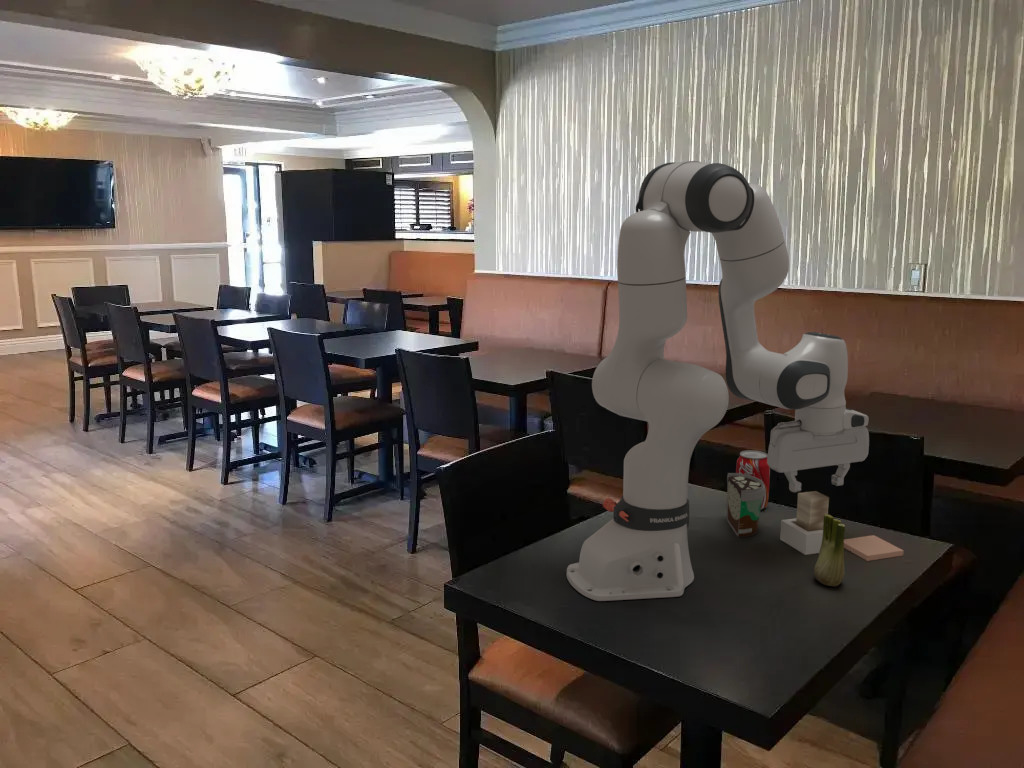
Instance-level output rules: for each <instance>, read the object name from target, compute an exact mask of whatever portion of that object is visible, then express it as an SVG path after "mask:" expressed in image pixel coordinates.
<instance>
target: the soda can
mask: <svg viewBox="0 0 1024 768" xmlns="http://www.w3.org/2000/svg"><path fill="white" fill-rule="evenodd" d="M767 458H768V453H766V452H764V451H762V450H761V451H759V450H751V449H750V450H749V449H748V450H742V451H740V452H739V457H738V458H737V460H736V466H735V467H736V468H735V473H738V474H745V475H750V476H753V477H756V478H758V479H760V480H761V481H762V482H763V484H764V486H765V492H766V495H765V496H764V497H763V498H762V501H761V508H760V511H762V510H763V509H765V508H767V507H768V505H769V504H768V503H769V495H770V479H771V478H770V477H771V475H770V474H771V468H770V467H769V465H768V464H767Z"/></svg>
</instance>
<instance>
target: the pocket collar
mask: <svg viewBox="0 0 1024 768" xmlns="http://www.w3.org/2000/svg"><path fill="white" fill-rule="evenodd" d="M796 518H797V517H794V518H789V519H781V521H780V534H779V535H780V538H779V540H780V541H782V542H784V543H785V544H786V545H788V546H789V547H792V548H794V549H795V550H796V551H798V552H799V553H801V554H803V555H805V556H807V555H808V556H809V555H813V554H819V551H820V547H821V543H822V538H823V530H816V531H809V532H808V531H806V530H804V529H803V528H801V527H799V526H797V525H796Z"/></svg>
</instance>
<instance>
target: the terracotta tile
mask: <svg viewBox="0 0 1024 768" xmlns="http://www.w3.org/2000/svg"><path fill="white" fill-rule="evenodd" d="M844 549H845V550H847V551H849V552H850V551H851V552H850V553H852V554H854V555H855V556H858V557H860V558H861V559H863V560H864V561H866V562H869V561H876V560H882V559H890V558H896V557H902V556H904V550H903V549H901V548H900V547H898V546H896V545H894V544H892V543H890V542H888V541H886V540H884V539H882V538H881V537H878V536H876V535H873V534H872V535H866V536H858V537H853V538H844Z"/></svg>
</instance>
